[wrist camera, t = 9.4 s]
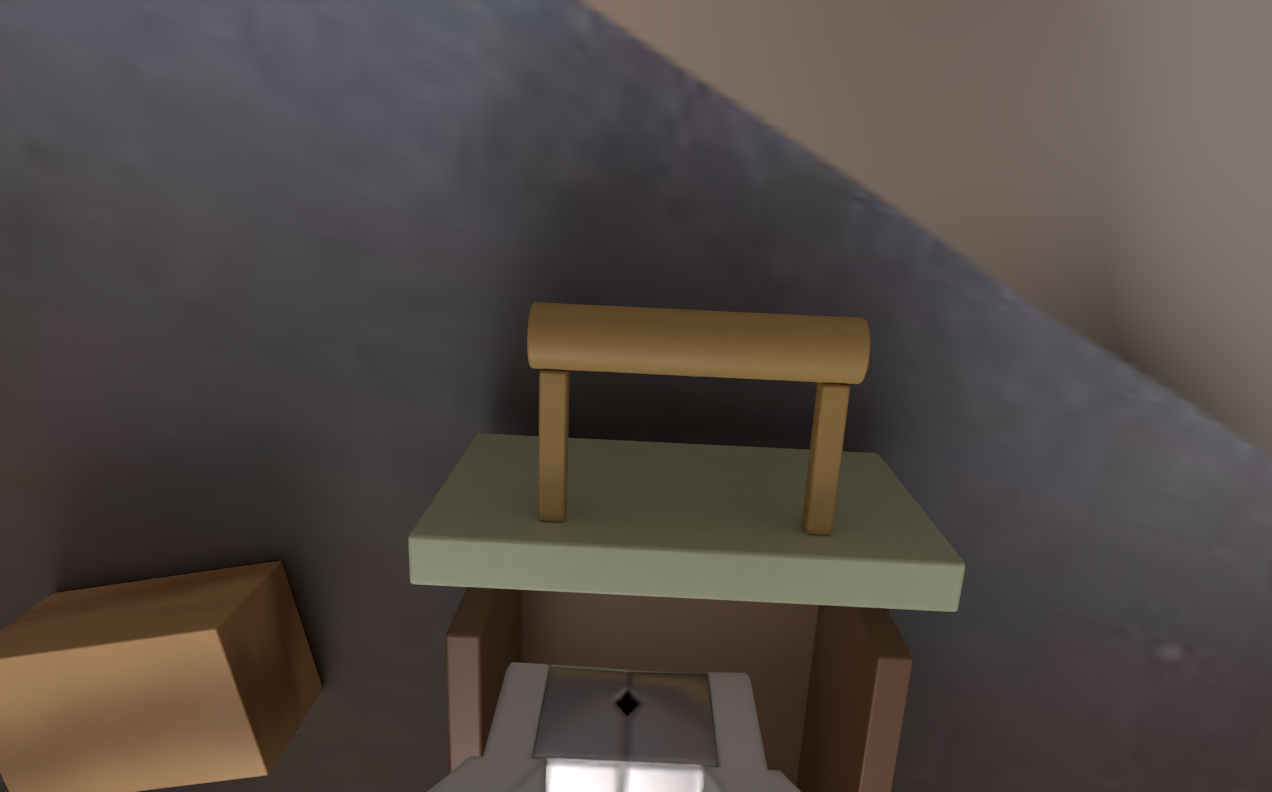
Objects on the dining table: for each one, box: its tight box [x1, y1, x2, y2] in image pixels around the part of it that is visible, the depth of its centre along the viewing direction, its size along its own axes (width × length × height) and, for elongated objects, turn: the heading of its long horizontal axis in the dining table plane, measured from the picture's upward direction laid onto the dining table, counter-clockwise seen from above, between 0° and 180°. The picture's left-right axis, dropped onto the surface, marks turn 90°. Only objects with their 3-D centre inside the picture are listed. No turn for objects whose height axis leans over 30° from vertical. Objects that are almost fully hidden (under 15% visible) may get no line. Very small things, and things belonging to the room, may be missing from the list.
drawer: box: [408, 302, 965, 792], centre depth 21 cm, size 21×12×7 cm, turn 177°
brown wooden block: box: [0, 561, 323, 792], centre depth 24 cm, size 5×8×4 cm, turn 99°
